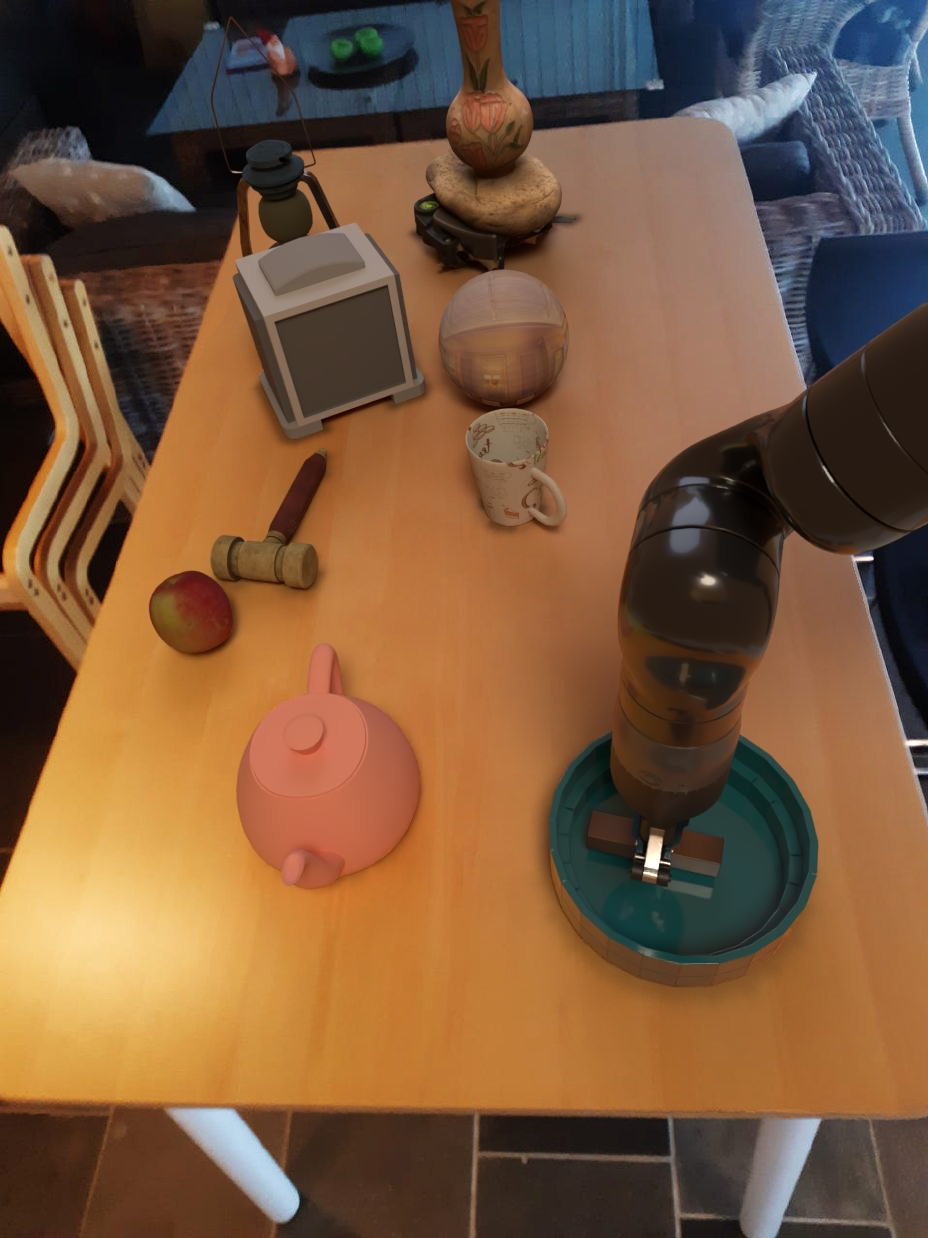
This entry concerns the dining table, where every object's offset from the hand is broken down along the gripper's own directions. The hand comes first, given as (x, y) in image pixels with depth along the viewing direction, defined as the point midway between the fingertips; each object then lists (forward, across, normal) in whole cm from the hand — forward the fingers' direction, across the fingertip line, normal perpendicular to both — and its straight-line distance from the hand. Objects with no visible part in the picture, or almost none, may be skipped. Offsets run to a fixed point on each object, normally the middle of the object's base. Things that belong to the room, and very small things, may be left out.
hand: (653, 848), depth 68 cm
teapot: (+2, -2, +26) cm, 27 cm away
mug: (+2, +35, +19) cm, 40 cm away
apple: (+2, +13, +46) cm, 48 cm away
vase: (+2, +89, +37) cm, 96 cm away
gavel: (+2, +30, +44) cm, 53 cm away
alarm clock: (+2, +53, +47) cm, 71 cm away
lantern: (+2, +71, +59) cm, 92 cm away
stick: (0, 0, 0) cm, 0 cm away
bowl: (+2, 0, -2) cm, 3 cm away
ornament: (+2, +55, +26) cm, 61 cm away
